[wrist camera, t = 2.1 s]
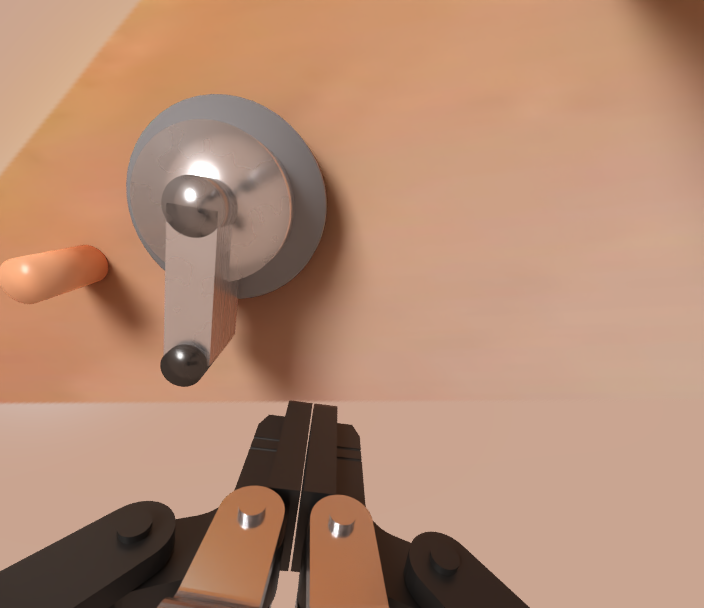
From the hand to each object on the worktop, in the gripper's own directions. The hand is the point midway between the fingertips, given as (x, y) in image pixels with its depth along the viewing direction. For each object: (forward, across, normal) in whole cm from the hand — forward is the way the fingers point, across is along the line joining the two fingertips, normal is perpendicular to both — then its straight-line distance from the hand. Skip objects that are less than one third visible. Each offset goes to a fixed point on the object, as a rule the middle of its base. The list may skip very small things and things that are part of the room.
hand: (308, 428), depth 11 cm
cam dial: (+9, +6, -4) cm, 11 cm away
